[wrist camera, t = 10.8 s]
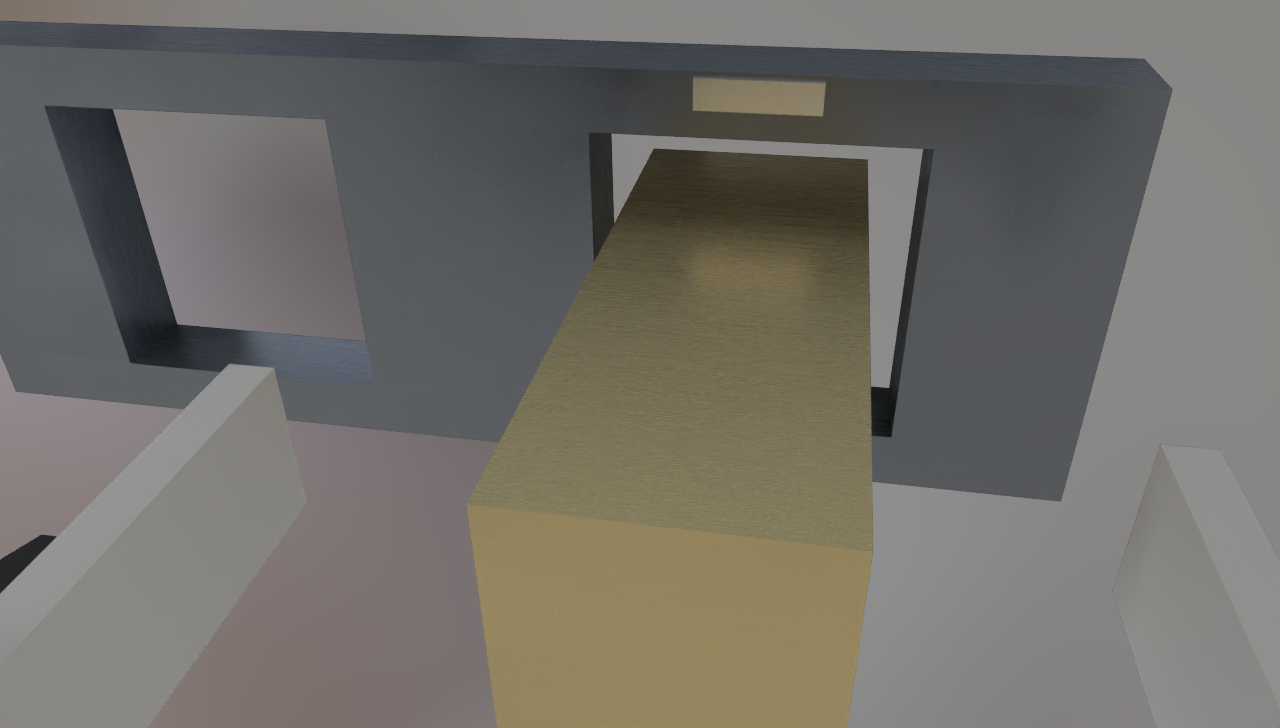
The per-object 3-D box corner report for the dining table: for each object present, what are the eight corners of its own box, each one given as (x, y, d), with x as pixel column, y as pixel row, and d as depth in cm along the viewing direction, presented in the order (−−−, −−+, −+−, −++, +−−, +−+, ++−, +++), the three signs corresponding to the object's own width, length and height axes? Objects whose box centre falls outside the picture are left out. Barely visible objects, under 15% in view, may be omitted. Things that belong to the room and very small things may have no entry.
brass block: (655, 330, 23) (501, 759, 13) (653, 148, 21) (466, 504, 11) (846, 346, 23) (834, 812, 13) (867, 159, 20) (872, 551, 10)
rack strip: (67, 352, 27) (13, 393, 26) (-57, 19, 23) (-134, 41, 21) (1046, 447, 23) (1061, 504, 21) (1144, 58, 18) (1174, 91, 17)
